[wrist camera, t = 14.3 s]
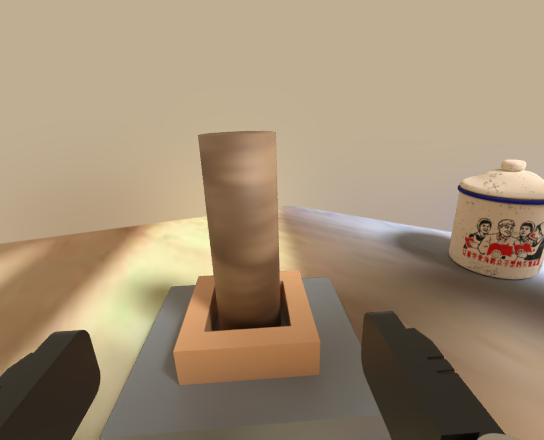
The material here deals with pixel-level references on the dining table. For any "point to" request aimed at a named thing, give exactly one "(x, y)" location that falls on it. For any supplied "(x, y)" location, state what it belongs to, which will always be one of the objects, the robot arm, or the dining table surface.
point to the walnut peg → (243, 226)
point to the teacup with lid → (500, 223)
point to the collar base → (249, 373)
